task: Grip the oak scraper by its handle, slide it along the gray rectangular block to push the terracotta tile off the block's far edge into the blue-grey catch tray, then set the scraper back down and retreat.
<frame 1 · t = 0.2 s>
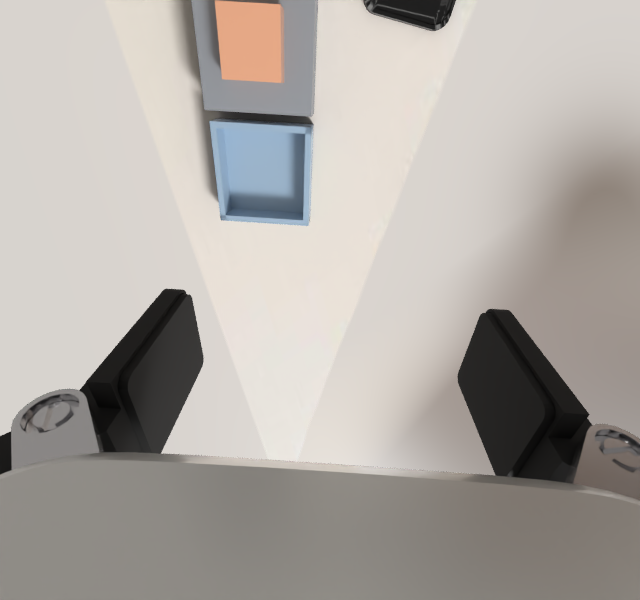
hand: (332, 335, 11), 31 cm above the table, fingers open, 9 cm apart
tile: (254, 46, 28), point 4 cm above the table, touching gray rectangular block
gray rectangular block: (262, 22, 31), on the table
catch tray: (267, 171, 38), on the table
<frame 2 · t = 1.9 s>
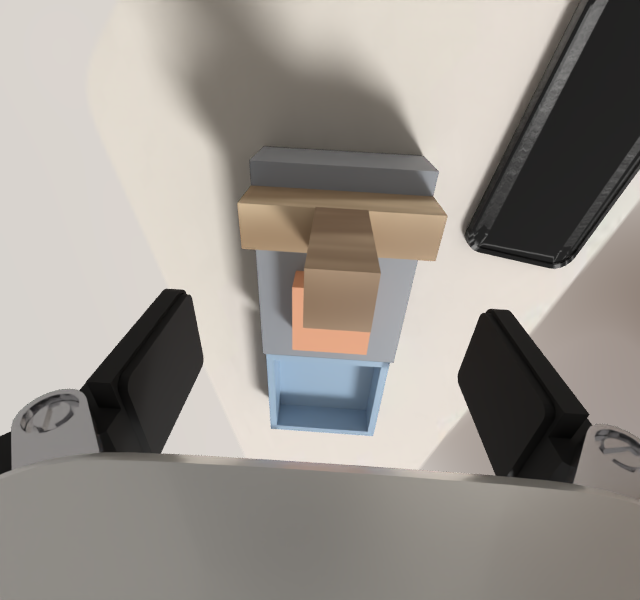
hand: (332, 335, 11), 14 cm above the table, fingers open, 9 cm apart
phone: (571, 145, 20), on the table
tile: (332, 305, 23), point 4 cm above the table, touching gray rectangular block
scraper: (339, 212, 19), point 4 cm above the table, touching gray rectangular block
gray rectangular block: (335, 252, 25), on the table
catch tray: (325, 373, 32), on the table
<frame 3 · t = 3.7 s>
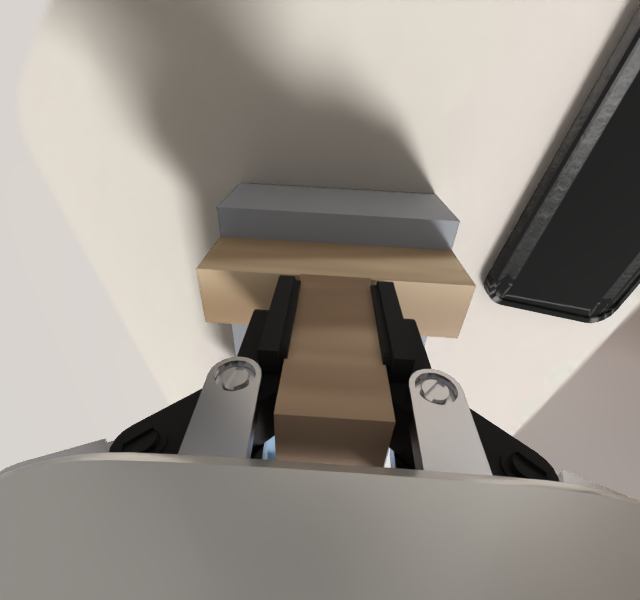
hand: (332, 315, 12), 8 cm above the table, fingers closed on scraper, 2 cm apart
phone: (615, 181, 17), on the table
scraper: (333, 268, 15), point 4 cm above the table, touching gripper, gray rectangular block
gray rectangular block: (329, 302, 21), on the table
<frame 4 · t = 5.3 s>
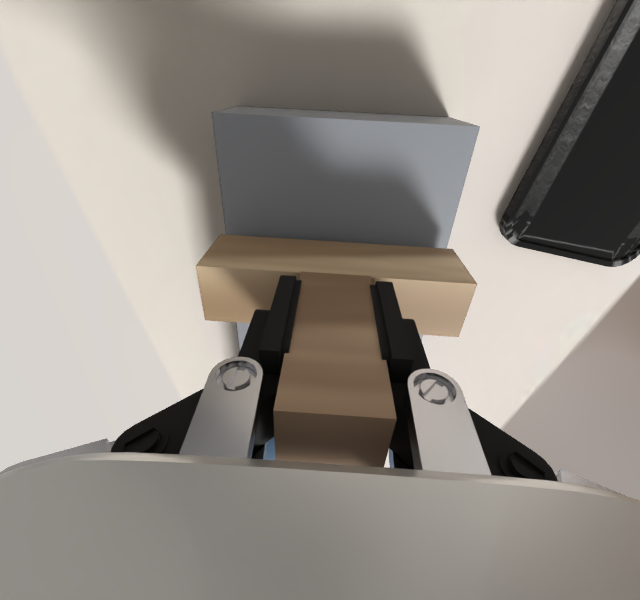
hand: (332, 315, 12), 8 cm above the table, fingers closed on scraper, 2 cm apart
scraper: (334, 266, 15), point 5 cm above the table, touching gripper, tile
gray rectangular block: (333, 247, 20), on the table
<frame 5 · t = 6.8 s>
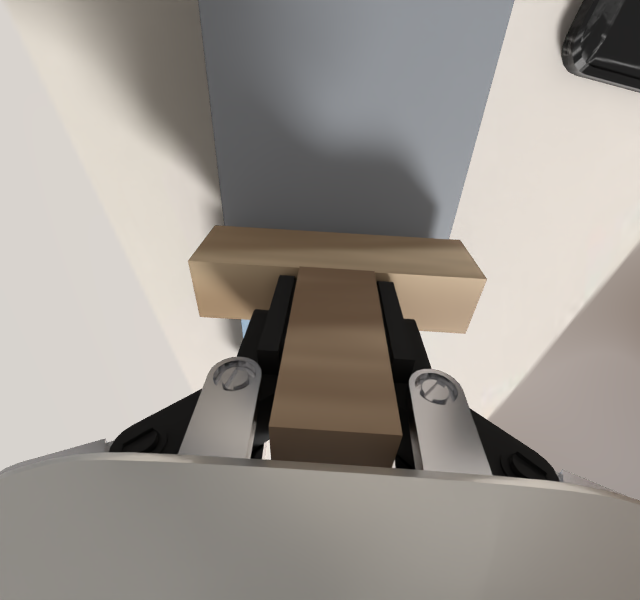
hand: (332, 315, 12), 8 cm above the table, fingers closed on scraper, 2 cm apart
scraper: (335, 258, 14), point 5 cm above the table, touching gripper
gray rectangular block: (344, 91, 15), on the table
when the fingers open (8 cm above the table, at t = 9.4 s): scraper stays where it is, resting on gray rectangular block.
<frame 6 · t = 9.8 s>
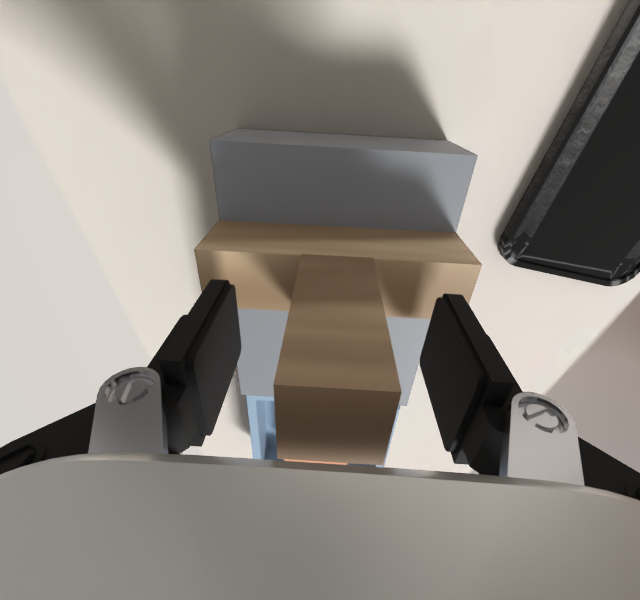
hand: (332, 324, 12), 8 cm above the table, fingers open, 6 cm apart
scraper: (335, 252, 15), point 4 cm above the table, touching gray rectangular block
gray rectangular block: (332, 266, 20), on the table
catch tray: (321, 410, 27), on the table
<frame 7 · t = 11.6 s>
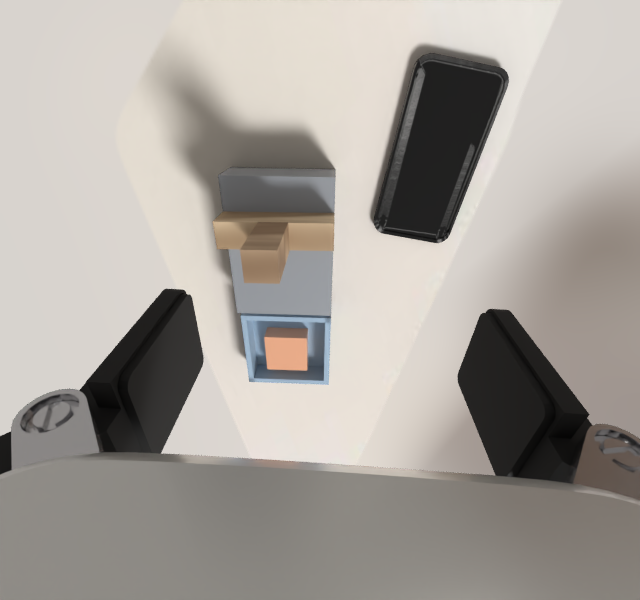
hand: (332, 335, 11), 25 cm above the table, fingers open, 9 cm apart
phone: (431, 158, 31), on the table
tile: (286, 354, 40), point 2 cm above the table, tilted 180°, touching catch tray
scraper: (279, 225, 30), point 4 cm above the table, touching gray rectangular block
gray rectangular block: (285, 238, 35), on the table
catch tray: (290, 336, 42), on the table
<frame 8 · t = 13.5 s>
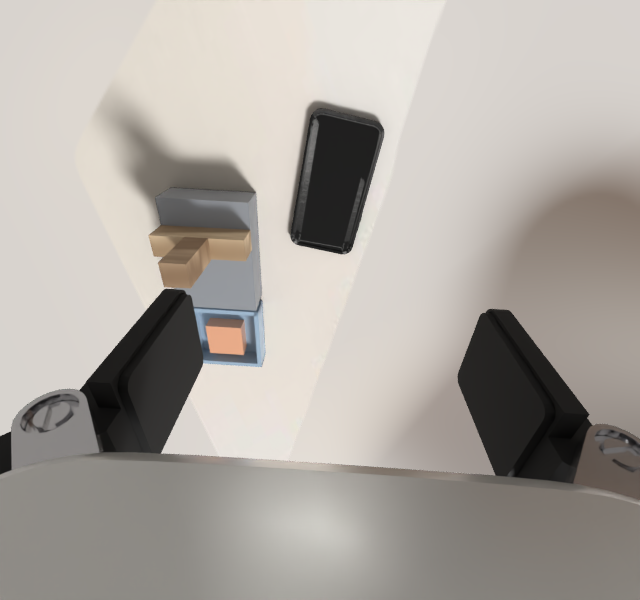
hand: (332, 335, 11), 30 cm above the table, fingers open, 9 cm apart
phone: (333, 186, 39), on the table
tile: (225, 340, 48), point 2 cm above the table, tilted 180°, touching catch tray
scraper: (207, 237, 38), point 4 cm above the table, touching gray rectangular block
gray rectangular block: (220, 245, 43), on the table
catch tray: (230, 326, 50), on the table
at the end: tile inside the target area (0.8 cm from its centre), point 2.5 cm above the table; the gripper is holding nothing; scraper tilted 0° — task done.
